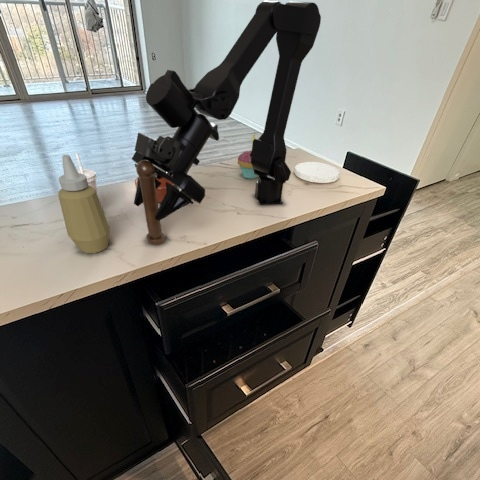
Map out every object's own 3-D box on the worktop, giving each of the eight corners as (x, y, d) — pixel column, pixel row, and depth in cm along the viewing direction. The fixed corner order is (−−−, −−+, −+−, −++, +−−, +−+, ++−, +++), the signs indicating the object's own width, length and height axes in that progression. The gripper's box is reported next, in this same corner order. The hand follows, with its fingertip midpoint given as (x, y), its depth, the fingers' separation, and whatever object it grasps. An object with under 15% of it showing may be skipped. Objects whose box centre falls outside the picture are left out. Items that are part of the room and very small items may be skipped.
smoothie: (97, 222, 75) (79, 159, 65) (72, 218, 76) (51, 155, 66) (111, 210, 79) (96, 150, 70) (87, 207, 80) (69, 146, 70)
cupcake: (239, 169, 104) (241, 128, 96) (264, 172, 104) (269, 131, 95) (235, 179, 98) (237, 136, 90) (262, 182, 98) (266, 139, 89)
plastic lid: (312, 189, 96) (314, 180, 94) (285, 173, 104) (286, 165, 102) (346, 182, 101) (348, 173, 99) (318, 167, 109) (319, 159, 108)
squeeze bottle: (79, 236, 70) (49, 147, 57) (117, 236, 71) (95, 149, 58) (68, 257, 64) (32, 163, 52) (109, 257, 65) (83, 164, 52)
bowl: (177, 186, 92) (175, 172, 89) (179, 202, 85) (178, 187, 82) (138, 187, 90) (135, 173, 87) (137, 204, 83) (134, 189, 80)
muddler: (165, 235, 72) (155, 156, 61) (165, 244, 70) (155, 164, 58) (147, 236, 72) (133, 157, 60) (147, 245, 69) (132, 164, 57)
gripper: (131, 103, 61) (91, 175, 63) (188, 126, 51) (138, 209, 53) (171, 142, 70) (134, 203, 72) (225, 167, 61) (181, 237, 63)
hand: (145, 212), depth 65 cm, fingers open, 8 cm apart
